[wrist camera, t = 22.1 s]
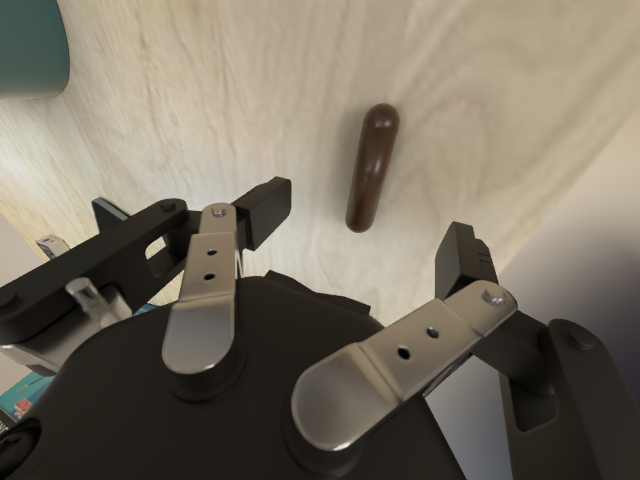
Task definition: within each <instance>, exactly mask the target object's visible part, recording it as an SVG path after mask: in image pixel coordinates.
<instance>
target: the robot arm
mask: <svg viewBox="0 0 640 480" xmlns="http://www.w3.org/2000/svg"><path fill="white" fill-rule="evenodd" d="M291 187H292V185H291V181H290V180H289V179H285V178H281V177H277V176H276V177H274V178H273V179H271V180H270V181H269V182H267V183H264V184H261V185H258V186H256V187H254V188H253V189H251V191H248V192H247V193H246V194H244V195H243V196H241V197H240V198H238V199H237V200H235V201H234V202H232V203H231V204H228V203H215V204H211V205H209V206H207V207H205V208H204V209H203V210H202V211H192V210H188V207H187V204H186V202H185V201H184V200H182V199H176V198H172V199H165V200H161V201H158V202H156V203H154V204H152V205H151V206H149V207H147V208H145V209H143V210H141V211H140V212H138V213H136V214H134V215H132V216H130V217H129V218H127V219H125V220H123V221H121V222H120V223H118V224H116V225H114V226H112V227H110V228H109V229H107V230H105V231H103V232H101V233H99V234H98V235H96V236H94V237H92V238H90V239H88V240H87V241H85V242H83V243H81V244H79V245H77V246H76V247H74V248H72V249H70V250H68V251H66V252H65V253H63V254H61V255H59V256H57V257H55V258H54V259H52V260H50V261H48V262H46V263H44V264H43V265H41V266H39V267H37V268H36V269H33V270H32V271H30V272H28V273H26V274H24V275H23V276H21V277H19V278H17V279H15V280H13V281H12V282H10V283H8V284H6V285H4V286H2V287H1V288H0V351H1V352H2V353H4V354H5V355H7V356H8V357H9V358H11V359H13V360H14V361H15V362H17V363H19V364H21V365H25V366H27V367H28V368H29V369H31V370H32V371H34V372H35V373H37V374H38V375H40V376H43V377H52V376H55V377H54V379H53V380H52V382H51V383H50V384H49V386H48V387H47V388H46V390H45V391H44V392H43V393H42V395H41V396H40V397H39V398H38V399H37V401H36V402H35V403H34V404H33V405H32V406H31V407H30V408H29V410H28V411H27V412H26V413H25V414H24V415H23V416H22V417H21V418H20V419H19V420H18V421H17V422H16V423H15V424H14V425H13V426H11V427H10V428H9V429H8V430H7V431H5V432H4V433H3V434H2V435H0V480H467V479H466V477H465V475H464V473H463V472H462V470H461V468H460V466H459V464H458V462H457V460H456V458H455V456H454V454H453V452H452V450H451V449H450V447H449V445H448V443H447V441H446V439H445V437H444V435H443V433H442V431H441V429H440V427H439V425H438V423H437V421H436V420H435V418H434V416H433V414H432V412H431V410H430V408H429V406H428V404H427V402H426V400H425V397H426V396H428V395H429V394H430V393H431V392H432V391H433V390H434V389H435V388H436V387H437V386H438V385H439V384H440V383H441V382H442V381H444V380H445V379H446V378H447V377H448V376H449V375H450V374H452V373H453V372H454V371H455V370H456V369H458V368H459V367H460V366H461V365H462V364H463V363H464V362H466V361H467V360H468V359H469V358H470V357H471V356H473V355H475V356H476V357H478V358H479V359H481V360H482V361H484V362H485V363H487V364H489V365H490V366H492V367H493V368H495V369H496V370H498V371H499V380H500V387H501V394H502V402H503V409H504V417H505V424H506V432H507V439H508V447H509V454H510V461H511V469H512V476H513V480H640V410H639V408H638V406H637V404H636V402H635V400H634V399H633V397H632V395H631V393H630V391H629V389H628V387H627V385H626V383H625V382H624V379H623V378H622V376H621V374H620V372H619V370H618V368H617V366H616V364H615V362H614V361H613V359H612V357H611V355H610V353H609V351H608V349H607V348H606V346H605V345H604V344H603V343H602V342H601V341H600V340H599V339H598V338H597V337H596V336H595V335H594V334H592V333H591V332H590V331H588V330H587V329H585V328H584V327H582V326H580V325H578V324H576V323H574V322H571V321H568V320H565V319H553V320H551V321H550V322H549V323H548V324H546V325H545V324H543V323H541V322H539V321H537V320H535V319H534V318H532V317H530V316H528V315H526V314H524V313H522V312H521V311H519V310H518V305H517V302H516V300H515V298H514V297H513V296H512V295H511V293H509V292H508V291H507V290H505V289H504V288H503V287H501V286H499V283H498V280H497V276H496V272H495V269H494V265H492V264H493V262H492V258H491V255H490V251H489V248H488V247H487V246H486V245H485V243H484V242H483V241H482V240H480V239H476V238H475V236H474V231H473V227H472V226H471V225H467V224H463V223H459V222H455V221H453V222H452V223H451V225H450V227H449V229H448V231H447V233H446V235H445V237H444V238H443V240H442V242H441V244H440V246H439V248H438V251H437V254H436V258H435V299H433V300H431V301H430V302H428V303H426V304H425V305H423V306H421V307H420V308H418V309H416V310H415V311H413V312H411V313H410V314H408V315H406V316H404V317H403V318H401V319H399V320H398V321H396V322H394V323H393V324H391V325H389V326H388V327H386V328H385V327H384V326H383V325H382V324H381V323H380V322H378V321H377V320H376V319H375V318H373V317H372V316H370V315H369V311H370V308H371V306H369V305H366V304H363V303H361V302H358V301H355V300H352V299H349V298H347V297H344V296H337V295H330V294H323V293H316V292H314V291H312V290H310V289H309V288H307V287H306V286H304V285H303V284H301V283H299V282H298V281H296V280H295V279H293V278H291V277H288V276H285V275H283V274H280V273H277V272H274V271H272V270H269V271H268V273H267V274H266V275H265V276H264V277H263V276H250V277H244V265H243V253H242V251H243V250H244V249H245V248H246V249H249V250H252V251H255V250H256V249H257V248H258V247H259V246H260V245H261V244H262V243H263V242H264V241H265V240H266V239H267V238H268V237H269V236H270V235H271V234H272V233H273V232H274V230H275V229H276V228H277V227H278V226H279V225H280V224H281V223H282V222H283V221H284V220H285V219H286V218H287V217H288V216H289V214H290V211H291ZM161 236H162V237H163V240H164V242H165V245H166V246H165V247H164V248H163V249H161V250H160V251H159V252H157V253H156V254H155V255H153V256H152V257H151V258H149V259H148V260H147V258H146V256H145V251H146V248H147V247H148V246H149V245H150V244H151V243H152V242H154V241H155V240H157V239H158V238H160V237H161ZM182 270H184V274H183V279H182V283H181V288H180V293H179V298H178V300H177V301H174V302H171V303H169V304H166V305H163V306H160V307H157V308H155V309H152V310H149V311H146V312H143V313H141V314H138V315H135V316H132V315H133V314H135V313H136V312H137V311H138V310H139V309H140V308H141V307H142V306H143V305H145V304H146V303H147V302H148V301H149V300H150V299H151V298H152V297H153V296H155V295H156V294H157V293H158V292H159V291H160V290H161V289H162V288H164V287H165V286H166V285H167V284H168V283H169V282H170V281H171V280H172V279H174V278H175V277H176V276H177V275H178V274H179V273H180V272H181V271H182ZM131 316H132V317H131Z"/></svg>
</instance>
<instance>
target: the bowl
mask: <svg viewBox="0 0 640 480" xmlns="http://www.w3.org/2000/svg"><path fill="white" fill-rule="evenodd" d="M68 75H69V53H68V45H67V40H66V35H65V30H64V26H63V23H62V19H61V16H60V12H59V9H58V6H57V3H56V0H0V101H13V100H25V99H38V98H50V97H54V96H57V95H58V94H60V93H61V92H62V91H63V89H64V88H65V86H66V83H67V81H68Z"/></svg>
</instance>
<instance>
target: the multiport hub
mask: <svg viewBox="0 0 640 480" xmlns="http://www.w3.org/2000/svg"><path fill="white" fill-rule="evenodd" d="M36 243H37V244H38V246H39V247H40V248H41V249H42V250H43V251H44V253H45V254H46V255H47V256H48V257H49V258H50V260H52V259H54V258H55V257H57V256H59V255H61V254H63V253H65V252H66V251H68V250H70V249H69V248H68V246H67V245H66V244H65V242H64V241H63V240H62V239H60V238H57V237H54V236H51V235H48V236H46V237H44V238H41V239H39V240H37V241H36Z"/></svg>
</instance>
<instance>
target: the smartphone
mask: <svg viewBox="0 0 640 480" xmlns="http://www.w3.org/2000/svg"><path fill="white" fill-rule="evenodd" d="M91 204H92V208H93V211H94V215H95V219H96V222H97V226H98V230H99V233H101V232H103V231H105V230H107V229H109V228H110V227H112V226H114V225H116V224H118V223H120V222H121V221H123V220H125V219H127V218H128V217H127V216H125V215H124V214H123V213H121V212H120V211H118V210H117V209H115V208H114V207H112V206H111V205H109V204H108V203H106V202H105V201H103V200H102V199H100V198H97V199H95V200H92V201H91Z"/></svg>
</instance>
